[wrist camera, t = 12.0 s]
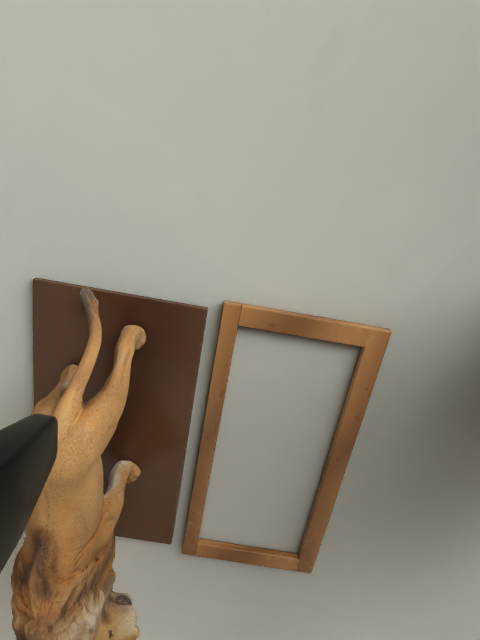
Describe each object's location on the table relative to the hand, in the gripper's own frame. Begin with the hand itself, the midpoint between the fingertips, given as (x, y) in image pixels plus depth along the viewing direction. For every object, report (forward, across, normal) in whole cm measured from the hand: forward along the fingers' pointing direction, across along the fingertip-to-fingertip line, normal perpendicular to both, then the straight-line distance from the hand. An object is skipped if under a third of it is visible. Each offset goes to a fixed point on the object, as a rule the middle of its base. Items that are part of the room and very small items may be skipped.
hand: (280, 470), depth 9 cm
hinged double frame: (+12, +2, +9) cm, 15 cm away
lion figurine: (+12, +6, +9) cm, 16 cm away
